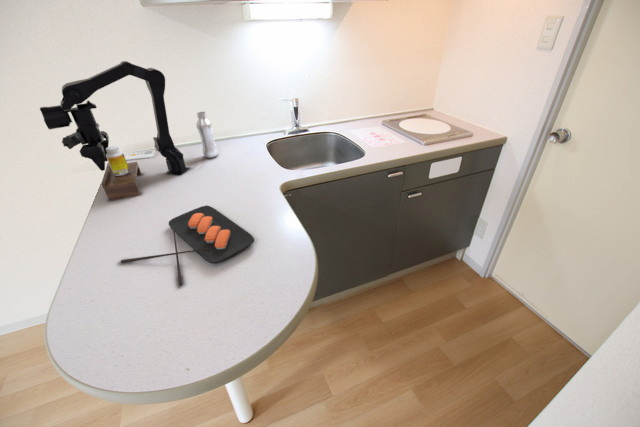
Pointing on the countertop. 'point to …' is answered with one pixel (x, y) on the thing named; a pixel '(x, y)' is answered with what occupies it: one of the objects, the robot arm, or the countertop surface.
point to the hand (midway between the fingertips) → (104, 165)
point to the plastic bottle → (206, 135)
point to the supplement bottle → (117, 161)
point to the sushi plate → (207, 236)
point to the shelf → (121, 183)
